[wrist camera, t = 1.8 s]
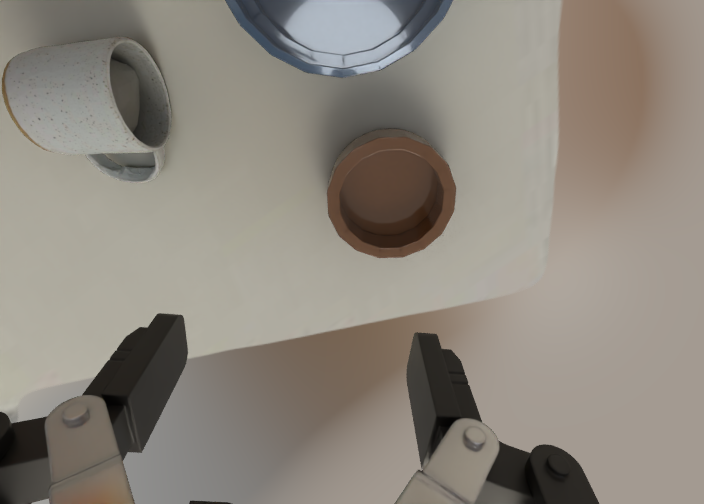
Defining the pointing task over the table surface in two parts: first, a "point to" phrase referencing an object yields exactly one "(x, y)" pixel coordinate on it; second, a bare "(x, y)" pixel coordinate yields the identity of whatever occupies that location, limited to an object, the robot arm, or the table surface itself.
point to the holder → (390, 193)
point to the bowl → (339, 31)
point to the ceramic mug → (91, 102)
